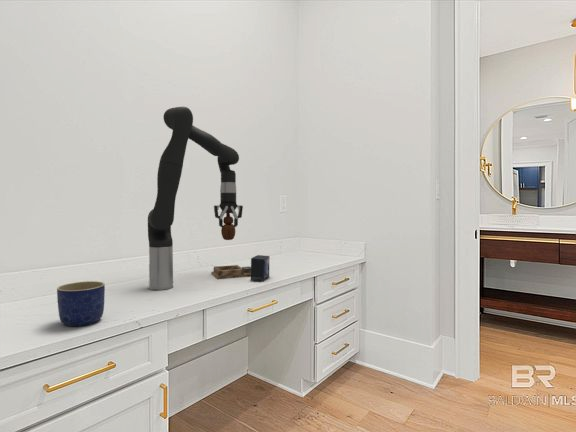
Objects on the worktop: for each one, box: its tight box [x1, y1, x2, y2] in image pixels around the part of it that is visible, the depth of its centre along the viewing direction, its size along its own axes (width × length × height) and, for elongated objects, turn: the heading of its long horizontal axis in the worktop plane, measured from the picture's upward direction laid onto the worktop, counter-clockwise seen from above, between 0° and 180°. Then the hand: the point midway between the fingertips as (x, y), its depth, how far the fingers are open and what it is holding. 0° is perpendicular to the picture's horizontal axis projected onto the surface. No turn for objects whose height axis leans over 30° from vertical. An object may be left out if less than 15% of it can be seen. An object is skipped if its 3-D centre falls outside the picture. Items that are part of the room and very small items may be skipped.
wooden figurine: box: [220, 210, 236, 241], centre depth 180 cm, size 7×6×15 cm
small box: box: [250, 254, 270, 283], centre depth 172 cm, size 11×6×10 cm, turn 168°
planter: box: [56, 280, 106, 327], centre depth 111 cm, size 12×12×11 cm
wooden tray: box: [211, 264, 251, 280], centre depth 182 cm, size 20×14×4 cm
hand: (228, 226), depth 180 cm, fingers closed on wooden figurine, 6 cm apart
